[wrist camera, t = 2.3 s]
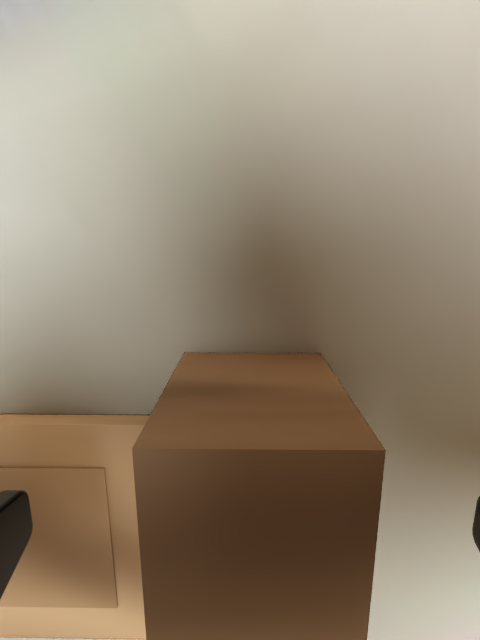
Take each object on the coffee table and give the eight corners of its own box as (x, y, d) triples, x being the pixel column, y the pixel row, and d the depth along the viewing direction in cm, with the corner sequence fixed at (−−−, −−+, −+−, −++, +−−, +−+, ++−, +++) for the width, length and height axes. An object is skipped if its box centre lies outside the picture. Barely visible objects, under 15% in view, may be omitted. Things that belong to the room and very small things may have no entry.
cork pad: (166, 620, 13) (161, 642, 12) (-56, 617, 13) (-72, 638, 12) (153, 415, 11) (148, 426, 10) (-104, 413, 11) (-126, 424, 10)
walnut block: (313, 472, 11) (366, 647, 6) (188, 471, 11) (146, 644, 6) (320, 352, 10) (385, 450, 6) (184, 352, 10) (132, 448, 6)
